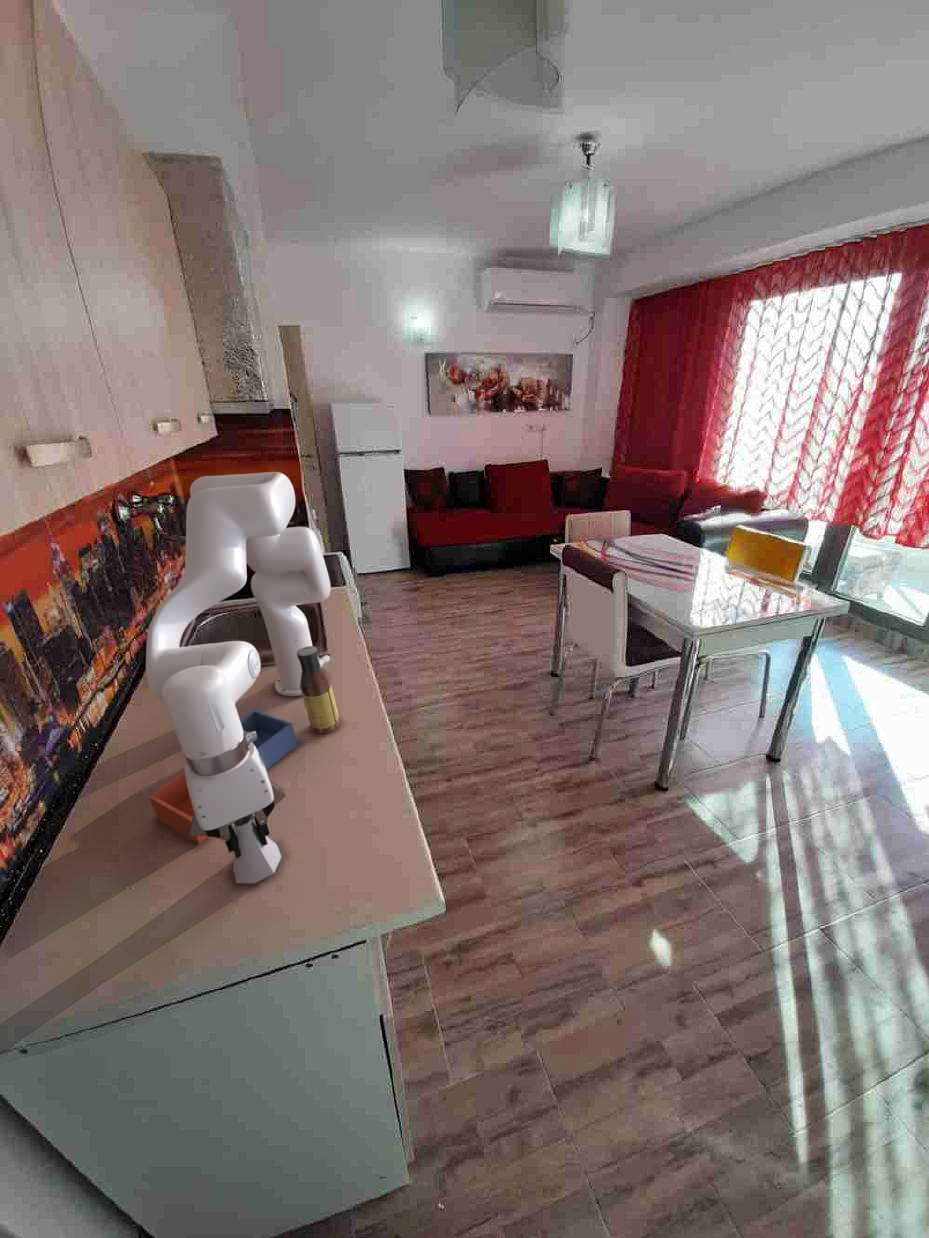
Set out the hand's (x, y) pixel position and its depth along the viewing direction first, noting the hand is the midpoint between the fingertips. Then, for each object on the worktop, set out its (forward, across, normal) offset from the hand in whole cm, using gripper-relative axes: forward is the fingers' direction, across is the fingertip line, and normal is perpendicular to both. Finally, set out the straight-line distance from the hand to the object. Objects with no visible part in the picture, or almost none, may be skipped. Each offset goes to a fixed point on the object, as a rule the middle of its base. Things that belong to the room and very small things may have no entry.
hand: (250, 843), depth 73 cm
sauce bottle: (+5, -19, -28) cm, 35 cm away
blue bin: (+5, -5, -28) cm, 29 cm away
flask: (+5, 0, 0) cm, 5 cm away
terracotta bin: (+5, +6, -18) cm, 19 cm away
